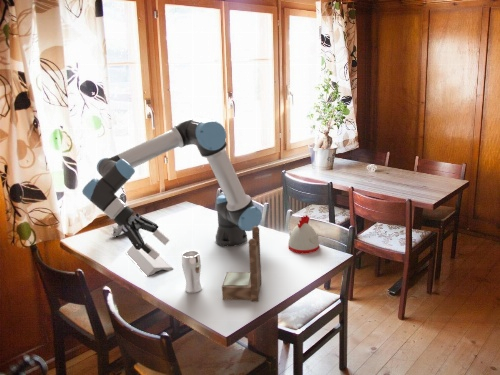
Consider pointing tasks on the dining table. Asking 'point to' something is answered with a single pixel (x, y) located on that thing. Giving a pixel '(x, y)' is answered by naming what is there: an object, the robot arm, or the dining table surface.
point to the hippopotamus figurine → (117, 230)
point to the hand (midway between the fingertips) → (162, 249)
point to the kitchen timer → (303, 238)
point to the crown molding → (148, 261)
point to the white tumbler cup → (192, 270)
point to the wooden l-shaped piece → (245, 275)
